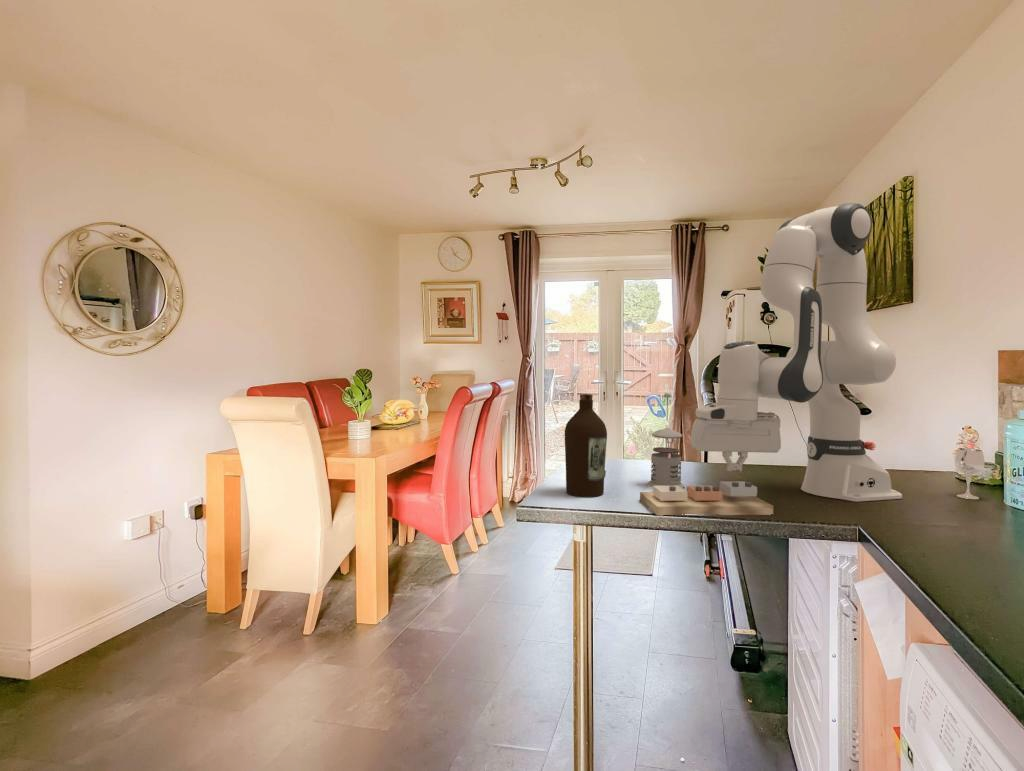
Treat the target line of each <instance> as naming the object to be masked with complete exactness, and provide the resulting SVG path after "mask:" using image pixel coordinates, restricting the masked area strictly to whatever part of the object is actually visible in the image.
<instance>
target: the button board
mask: <svg viewBox="0 0 1024 771" xmlns="http://www.w3.org/2000/svg"><path fill="white" fill-rule="evenodd" d="M639 501H640V502H641V501H642V502H643V503H644V504H643V505H645V506H646V508H648V509H649V508H650V509H651V510H652V511H653V512H654V513H655V516H660V517H661V516H663V515H678V516H686V515H685V514H709V515H708V516H772V515H771V514H773V515H774V505H773V504H770V503H768V501H765V500H762V499H761V498H759V497H757V496H730V495H728V494H726V493H724V492H723V491H722V500H709V501H696V500H694V499H693V498H691V497H690V496H688V495H687V501H661V500H659V499H658V498H657V497H656V496H654V495H653V491H640V493H639ZM642 502H641V503H642ZM650 509H649V510H650ZM651 510H650V511H651ZM652 511H651V512H652ZM653 512H652V513H653ZM654 513H653V514H654ZM682 514H683V515H682ZM710 514H711V515H710ZM717 514H718V515H717Z"/></svg>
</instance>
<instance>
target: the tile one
mask: <svg viewBox="0 0 1024 771" xmlns="http://www.w3.org/2000/svg"><path fill="white" fill-rule="evenodd" d="M652 492H653V495H654V496H656V497H657V498H658V499H659V500H661V501H687V491H686V489H684V488H681V487H679V486H653V487H652Z"/></svg>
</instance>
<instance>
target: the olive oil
mask: <svg viewBox="0 0 1024 771" xmlns="http://www.w3.org/2000/svg"><path fill="white" fill-rule="evenodd" d="M578 401H579V402H578V403H579V404H578V406H579V408H578V410H577V412H575V413H574V414H573V416H572V417H571V418H570V419H568V421H567V423H566V425H565V427H564V450H565V451H564V452H565V453H564V454H565V456H564V458H565V459H564V460H565V492H566V493H567V494H568V495H570V496H575V497H579V498H580V497H581V498H595V497H600V496H602V495H604V489H605V488H604V487H605V478H606V474H607V473H606V472H607V471H606V456H607V441H608V432H607V428H606V427H607V426H606V424H605V423H604V421H603V420H602V418H600V416H599V415H598V414H597V413H596V412H595V411H594V408H593V407H594V406H593V405H594V400H593V394H591V393H580V394H579V400H578Z"/></svg>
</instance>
